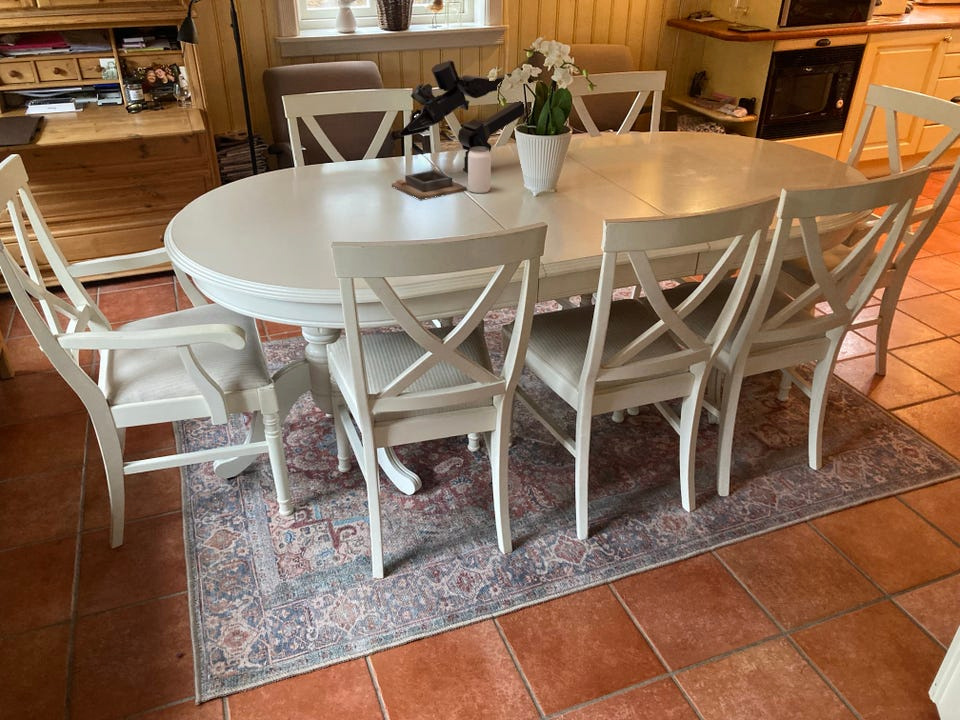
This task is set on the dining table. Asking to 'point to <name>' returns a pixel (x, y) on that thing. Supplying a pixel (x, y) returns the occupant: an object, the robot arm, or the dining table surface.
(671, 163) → the dining table surface
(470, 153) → the can
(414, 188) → the socket block
